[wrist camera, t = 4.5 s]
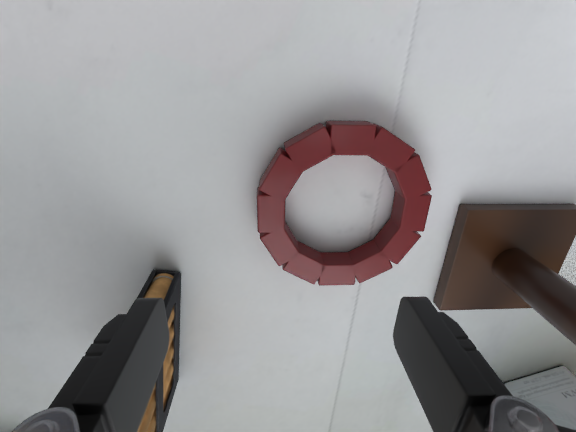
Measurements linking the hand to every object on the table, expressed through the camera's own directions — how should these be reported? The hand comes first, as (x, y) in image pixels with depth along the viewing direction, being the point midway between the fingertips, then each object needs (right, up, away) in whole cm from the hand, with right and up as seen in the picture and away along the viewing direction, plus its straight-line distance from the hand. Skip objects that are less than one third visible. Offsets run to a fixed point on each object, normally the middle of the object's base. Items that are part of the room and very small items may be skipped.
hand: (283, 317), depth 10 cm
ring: (+3, +4, +9) cm, 11 cm away
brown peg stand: (+15, +1, +11) cm, 19 cm away
